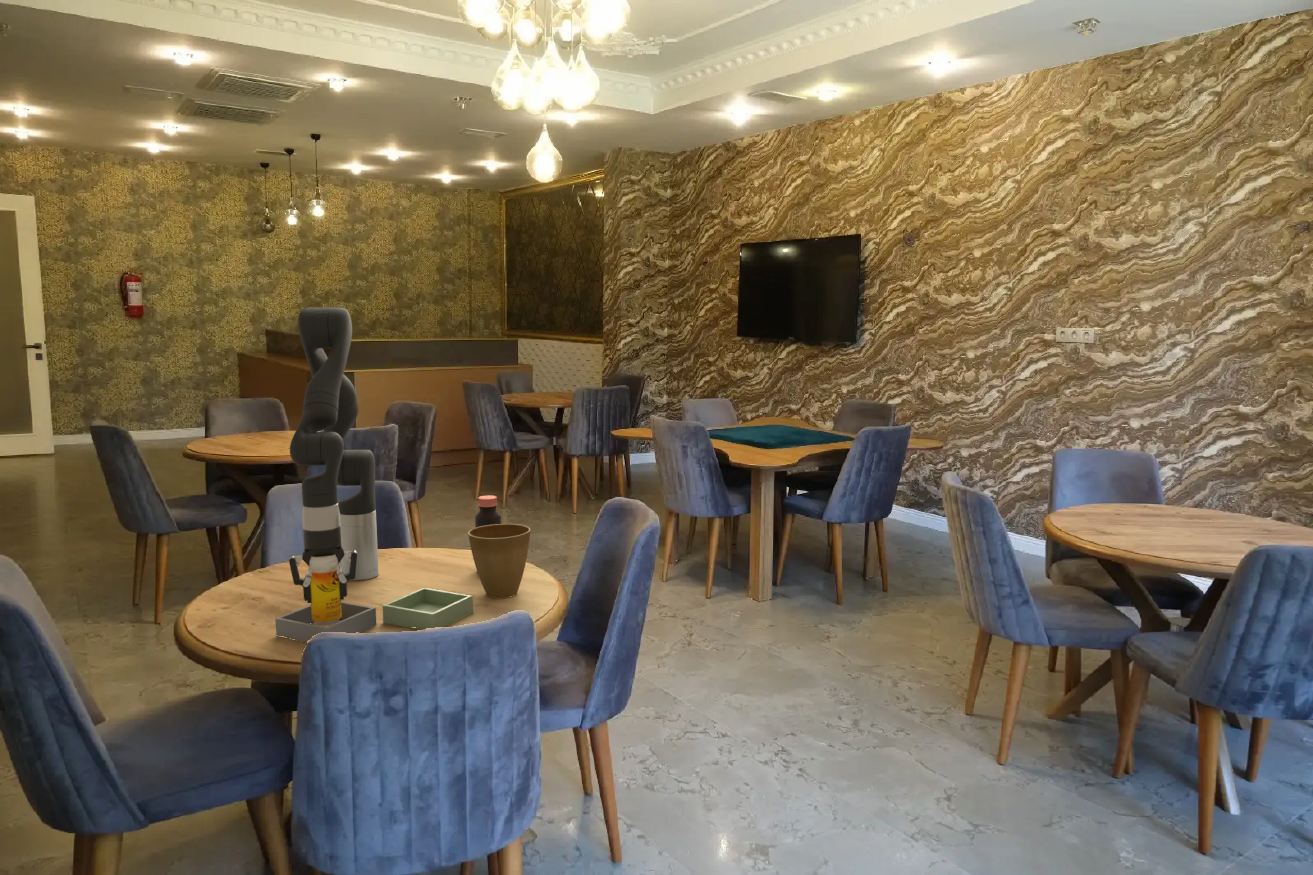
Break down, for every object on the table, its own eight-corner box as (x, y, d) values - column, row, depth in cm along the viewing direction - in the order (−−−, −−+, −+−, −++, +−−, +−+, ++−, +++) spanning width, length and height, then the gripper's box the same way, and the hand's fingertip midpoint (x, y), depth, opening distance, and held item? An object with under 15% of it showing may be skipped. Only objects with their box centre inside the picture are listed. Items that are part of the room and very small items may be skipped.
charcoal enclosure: (276, 636, 190) (275, 618, 189) (327, 615, 203) (326, 598, 202) (327, 647, 184) (326, 628, 183) (376, 625, 197) (375, 607, 196)
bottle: (472, 573, 235) (470, 499, 232) (483, 566, 242) (481, 494, 239) (496, 575, 234) (494, 500, 231) (506, 568, 240) (504, 495, 237)
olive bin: (383, 622, 198) (382, 605, 198) (424, 604, 211) (423, 587, 210) (433, 632, 192) (433, 614, 192) (473, 612, 205) (472, 595, 204)
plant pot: (534, 584, 226) (533, 522, 224) (528, 603, 211) (526, 537, 209) (475, 584, 225) (473, 523, 223) (464, 604, 211) (462, 538, 208)
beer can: (332, 626, 190) (328, 558, 187) (306, 624, 191) (302, 556, 189) (347, 617, 196) (343, 550, 193) (322, 615, 197) (318, 549, 194)
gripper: (284, 532, 184) (289, 610, 187) (357, 526, 189) (361, 602, 191) (285, 523, 191) (290, 598, 193) (356, 518, 196) (360, 591, 198)
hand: (326, 600), depth 192 cm, fingers closed on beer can, 6 cm apart
